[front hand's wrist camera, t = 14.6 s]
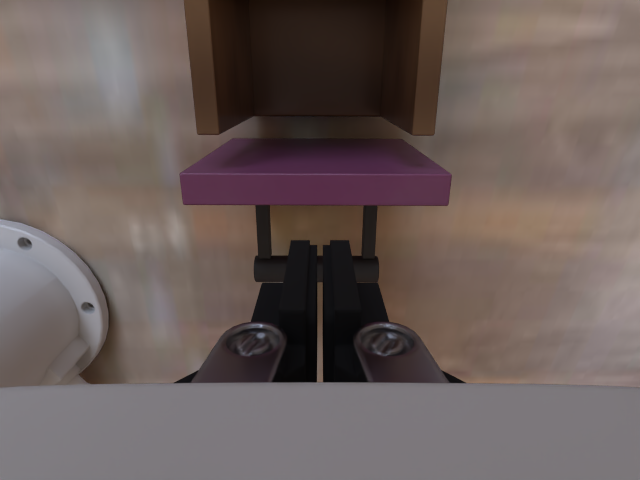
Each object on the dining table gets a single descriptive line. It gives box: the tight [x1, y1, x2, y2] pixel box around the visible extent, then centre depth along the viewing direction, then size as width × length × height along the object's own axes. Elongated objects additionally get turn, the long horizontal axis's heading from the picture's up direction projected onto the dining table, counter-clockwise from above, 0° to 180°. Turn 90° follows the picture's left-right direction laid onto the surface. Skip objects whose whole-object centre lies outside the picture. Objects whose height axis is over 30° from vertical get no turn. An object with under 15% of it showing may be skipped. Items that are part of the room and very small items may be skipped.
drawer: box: [180, 0, 452, 282], centre depth 18 cm, size 21×10×10 cm, turn 0°
